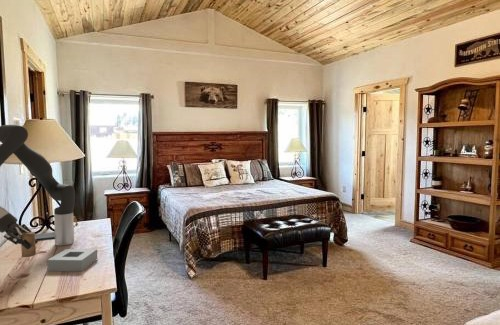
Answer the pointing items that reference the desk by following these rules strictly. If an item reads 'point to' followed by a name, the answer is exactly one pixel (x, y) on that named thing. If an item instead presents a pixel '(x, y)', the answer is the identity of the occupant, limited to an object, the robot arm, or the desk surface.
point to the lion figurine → (75, 220)
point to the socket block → (72, 260)
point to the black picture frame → (45, 236)
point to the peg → (31, 239)
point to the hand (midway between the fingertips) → (33, 245)
